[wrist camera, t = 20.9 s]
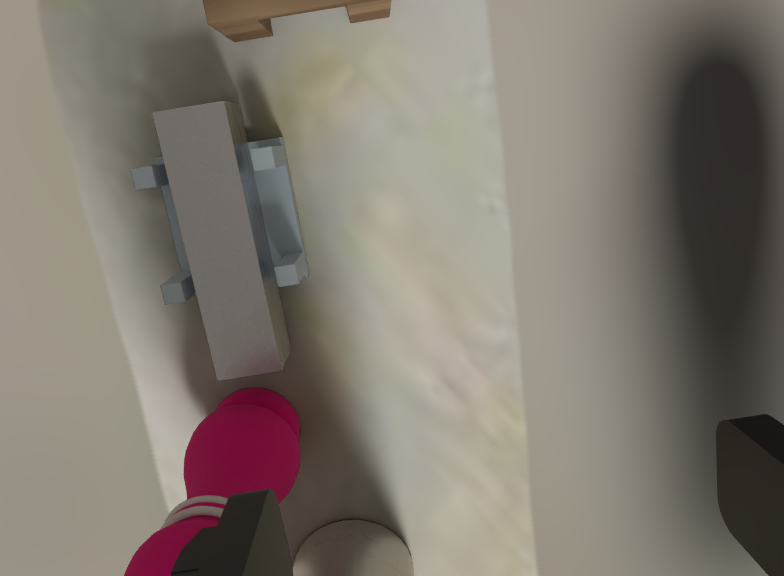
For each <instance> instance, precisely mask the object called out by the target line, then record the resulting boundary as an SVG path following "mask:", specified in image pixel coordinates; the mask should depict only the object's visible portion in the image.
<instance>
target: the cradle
mask: <svg viewBox="0 0 784 576" xmlns="http://www.w3.org/2000/svg"><path fill="white" fill-rule="evenodd" d="M248 146H249V151H250V156H251V160H252V165H253V170H254V175H255V180H256V184H257V189H258V194H259V199H260V204H261V208H262V213H263V218H264V223H265V227H266V232H267V237H268V242H269V247H270V251H271V256H272V261H273V266H274V271H275V275H276V280H277V282H278V287H283V286H289V285H295V284H299V282H300V280H301V278H304V277H308V275H309V270H308V265H307V260H306V254H305V249H304V244H303V239H302V234H301V229H300V223H299V218H298V213H297V208H296V203H295V198H294V192H293V187H292V182H291V177H290V172H289V167H288V162H287V156H286V151H285V146H284V141H283V137H279V138H273V139H266V140H260V141H254V142H248ZM154 162H155V165H151V166H145V167H139V168H133V169H130V170H131V174H132V178H133V182H134V186H135V190H141V189H147V188H153V187H159V186H161V190H162V194H163V198H164V202H165V206H166V210H167V214H168V218H169V222H170V226H171V230H172V234H173V238H174V242H175V247H176V251H177V255H178V259H179V263H180V267H181V272H179V273H178V274H176V275H175V276H173V277H172V278H170V279H169V280H167V281H166V282H165V283H163V284H162V285H160V287H161V291H162V295H163V298H164V302H165V305H168V304H175V303H181V302H186V301H187V300H188V299H189V298H190V297H191V296H192V295H196V291H195V287H194V283H193V279H192V275H191V270H190V266H189V262H188V258H187V254H186V250H185V246H184V242H183V238H182V234H181V230H180V225H179V221H178V217H177V213H176V209H175V205H174V201H173V197H172V193H171V189H170V184H169V180H168V176H167V172H166V168H165V164H164V160H163V156H160V157H154Z"/></svg>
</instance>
